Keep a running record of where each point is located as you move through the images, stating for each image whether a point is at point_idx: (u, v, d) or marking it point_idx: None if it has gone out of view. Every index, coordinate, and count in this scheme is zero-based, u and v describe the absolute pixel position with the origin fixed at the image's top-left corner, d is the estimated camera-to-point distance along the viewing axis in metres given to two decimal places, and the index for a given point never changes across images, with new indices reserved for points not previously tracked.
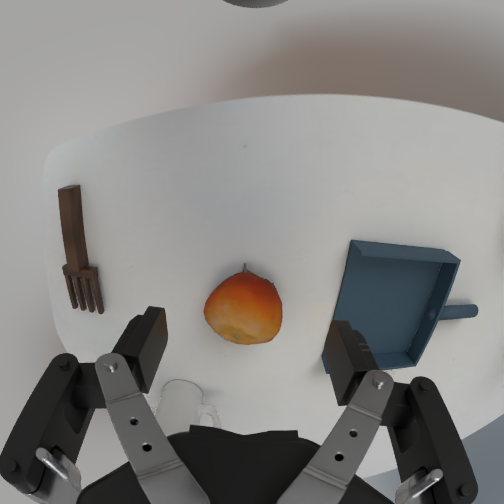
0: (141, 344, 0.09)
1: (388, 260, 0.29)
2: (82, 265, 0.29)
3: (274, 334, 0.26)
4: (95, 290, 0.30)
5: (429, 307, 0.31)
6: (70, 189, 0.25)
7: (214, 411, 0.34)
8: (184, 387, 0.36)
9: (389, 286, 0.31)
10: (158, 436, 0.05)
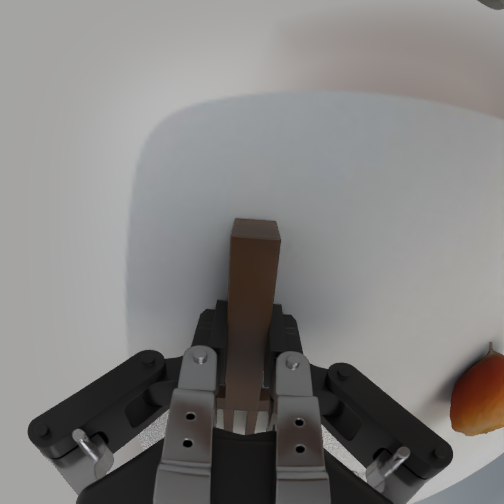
0: (224, 335, 0.11)
1: None
2: None
3: None
4: None
5: None
6: None
7: None
8: None
9: None
10: (205, 438, 0.06)
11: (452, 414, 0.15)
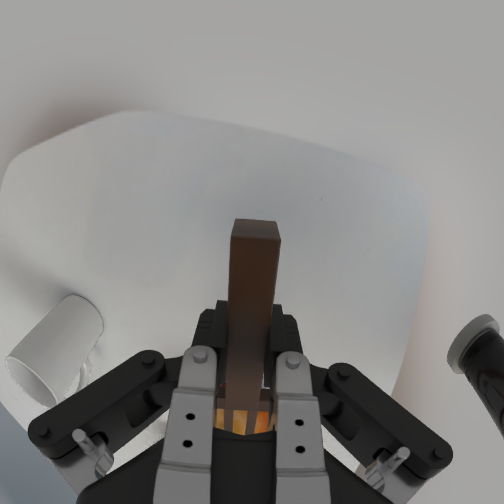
0: (224, 335, 0.11)
1: None
2: None
3: None
4: None
5: None
6: None
7: (89, 375, 0.25)
8: (98, 333, 0.26)
9: None
10: (205, 438, 0.06)
11: None
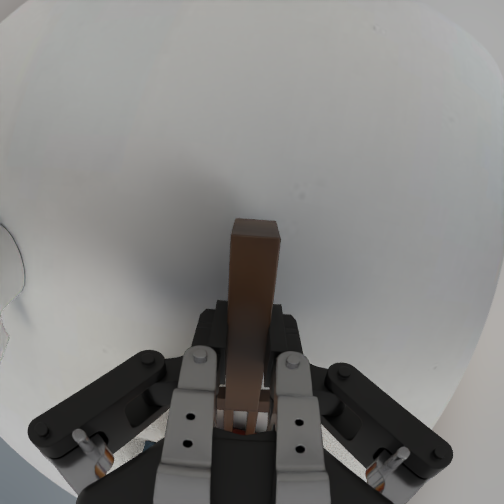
0: (224, 335, 0.11)
1: None
2: None
3: None
4: None
5: None
6: None
7: (2, 351, 0.12)
8: (13, 280, 0.13)
9: None
10: (205, 438, 0.06)
11: None
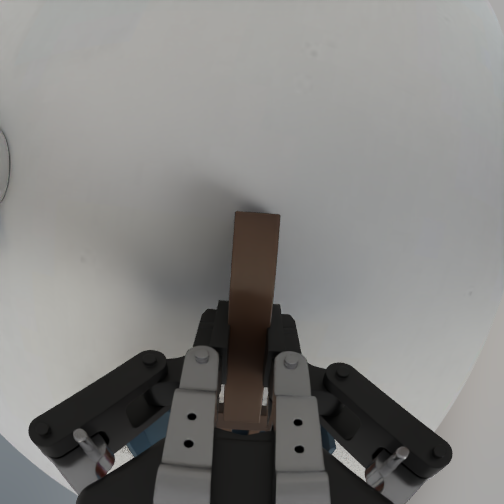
0: (225, 336, 0.11)
1: None
2: None
3: None
4: None
5: None
6: None
7: None
8: None
9: None
10: (206, 438, 0.06)
11: None
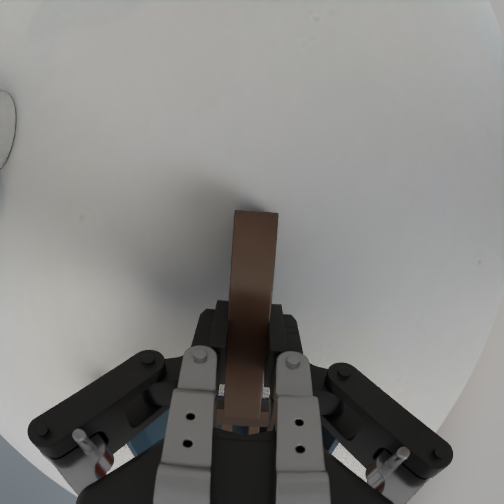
0: (224, 335, 0.11)
1: None
2: None
3: None
4: None
5: None
6: None
7: None
8: (1, 134, 0.10)
9: None
10: (205, 438, 0.06)
11: None
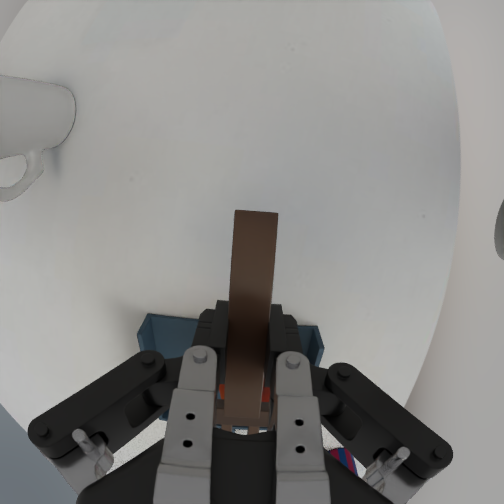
0: (224, 335, 0.11)
1: None
2: None
3: None
4: None
5: None
6: None
7: (34, 177, 0.16)
8: (66, 118, 0.17)
9: None
10: (205, 438, 0.06)
11: None
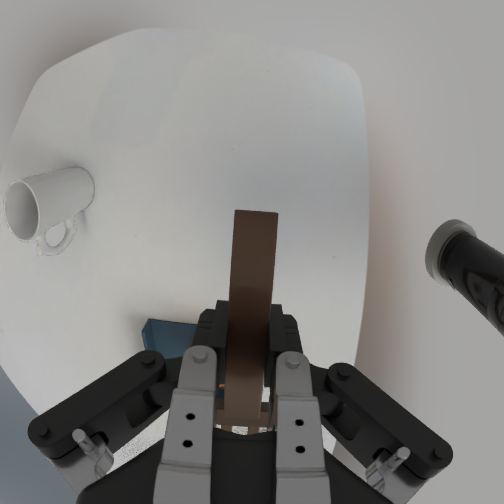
0: (224, 335, 0.11)
1: None
2: None
3: None
4: None
5: None
6: None
7: (72, 236, 0.30)
8: (88, 195, 0.31)
9: None
10: (205, 438, 0.06)
11: None
